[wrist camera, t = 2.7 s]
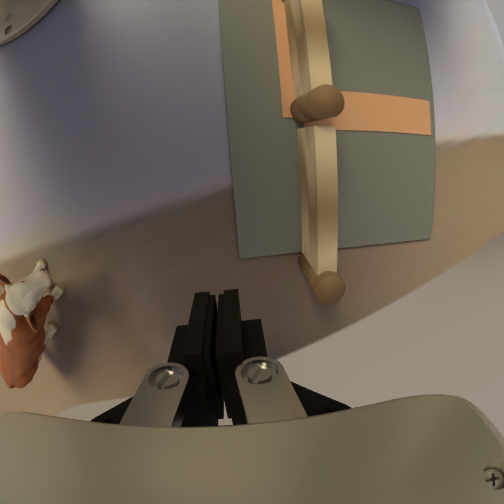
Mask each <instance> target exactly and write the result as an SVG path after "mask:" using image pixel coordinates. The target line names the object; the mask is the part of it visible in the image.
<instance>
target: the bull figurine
mask: <svg viewBox="0 0 504 504" xmlns="http://www.w3.org/2000/svg"><path fill="white" fill-rule="evenodd" d="M46 268H47V263H46V261H45V260H44V259H43V258H40V259H39V260H38V262H37V265H36V267H35V269H34V271H33V272H32V273H31V274H29V275H28V276H27V277H25V278H23V279H21V280H20V281H18V282H15V283H13V284H12V283H11V282H10V281H9V280H8V279H7V278H6V277H5V276H3V275H1V274H0V285H1V286H3V287H4V288H5V291H4V293H3V294H2V296H1V298H0V373H1V375H2V377H3V378H4V380H5V382H6V385H7V387H8V388H13V387H17V388H23V387H25V386H26V385H27V384H28V383H30V382H31V380H32V378H33V376H34V374H35V373H36V371H37V368H38V363H39V362H40V360H41V358H42V353H43V351H44V350H45V346H46V343H47V341H48V340H49V339H50V338H52V337H53V334H54V333H55V332H56V331H57V329H58V328H57V325H56V324H55V323H53V322H50V323H49V325H48V327H47V330H46V332H45V330H44V323H45V319H46V315H47V313H48V312H49V310H50V307H51V305H52V303H53V300H58V299H59V297H60V296H61V295H62V294H63V293H64V287H63V286H62V285H61V284H57V285H56V286H55V287H54V288H53V290H52V292H51V293H50V295H47V296H45V298H44V297H43V294H44V291H45V290H46V289H47V288H49V287H50V286H51V285H52V283H53V280H52V278H51V276H50V275H49V273H48V271H47V270H46Z"/></svg>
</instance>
